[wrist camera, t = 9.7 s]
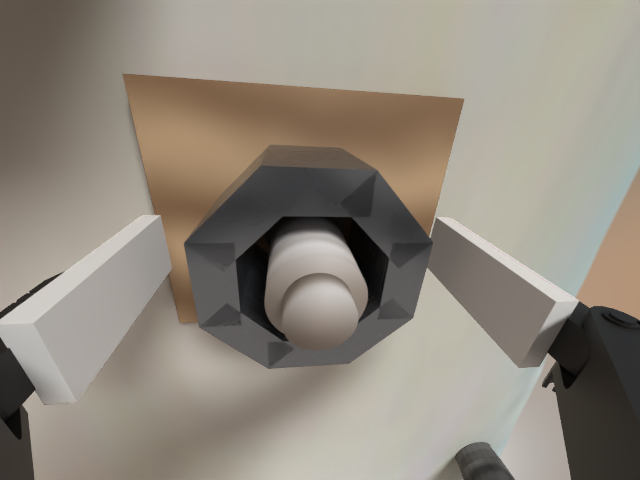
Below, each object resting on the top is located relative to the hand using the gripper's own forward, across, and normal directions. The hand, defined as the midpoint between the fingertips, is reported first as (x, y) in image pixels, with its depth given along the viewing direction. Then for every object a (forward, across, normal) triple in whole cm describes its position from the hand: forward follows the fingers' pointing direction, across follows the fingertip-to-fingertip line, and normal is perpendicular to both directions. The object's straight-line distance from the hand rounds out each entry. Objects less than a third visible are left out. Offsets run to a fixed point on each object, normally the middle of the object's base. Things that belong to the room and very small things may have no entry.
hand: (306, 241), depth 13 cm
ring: (+3, 0, 0) cm, 3 cm away
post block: (+4, 0, 0) cm, 4 cm away
